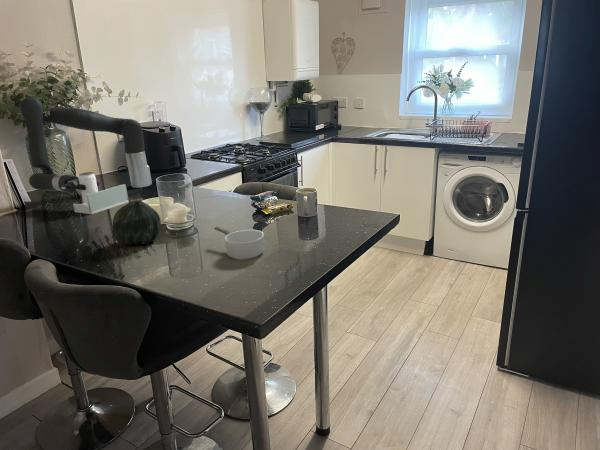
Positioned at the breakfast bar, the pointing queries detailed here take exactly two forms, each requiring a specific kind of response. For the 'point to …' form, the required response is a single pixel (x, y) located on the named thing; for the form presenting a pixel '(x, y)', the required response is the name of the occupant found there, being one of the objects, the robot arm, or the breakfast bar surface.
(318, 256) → the breakfast bar surface
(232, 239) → the saucepan
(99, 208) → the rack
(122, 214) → the squash
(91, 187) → the can
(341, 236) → the breakfast bar surface
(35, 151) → the robot arm
